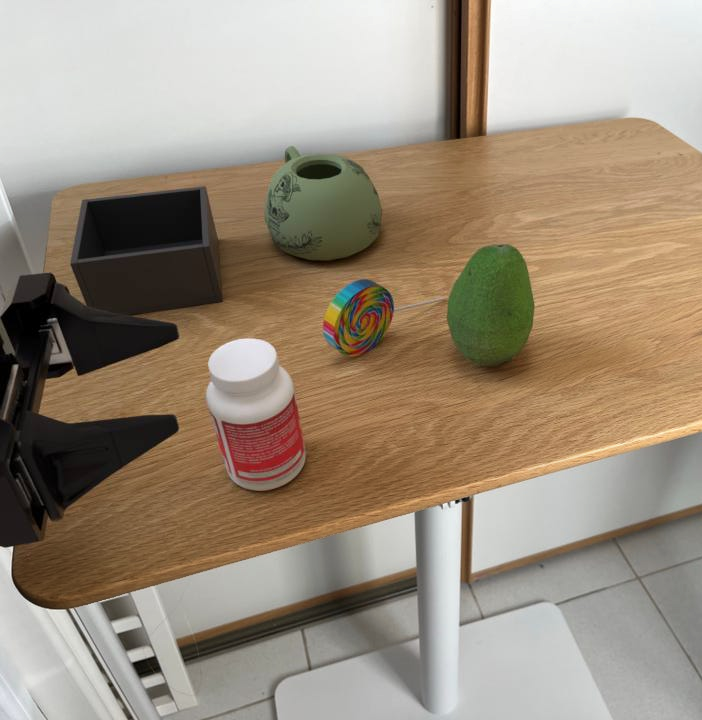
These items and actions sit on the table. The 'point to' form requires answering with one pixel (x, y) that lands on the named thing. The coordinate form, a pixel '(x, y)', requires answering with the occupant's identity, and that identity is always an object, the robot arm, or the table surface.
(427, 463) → the table surface
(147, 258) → the bin
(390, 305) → the lollipop
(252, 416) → the pill bottle
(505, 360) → the fruit
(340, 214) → the green rounded hollow pot
